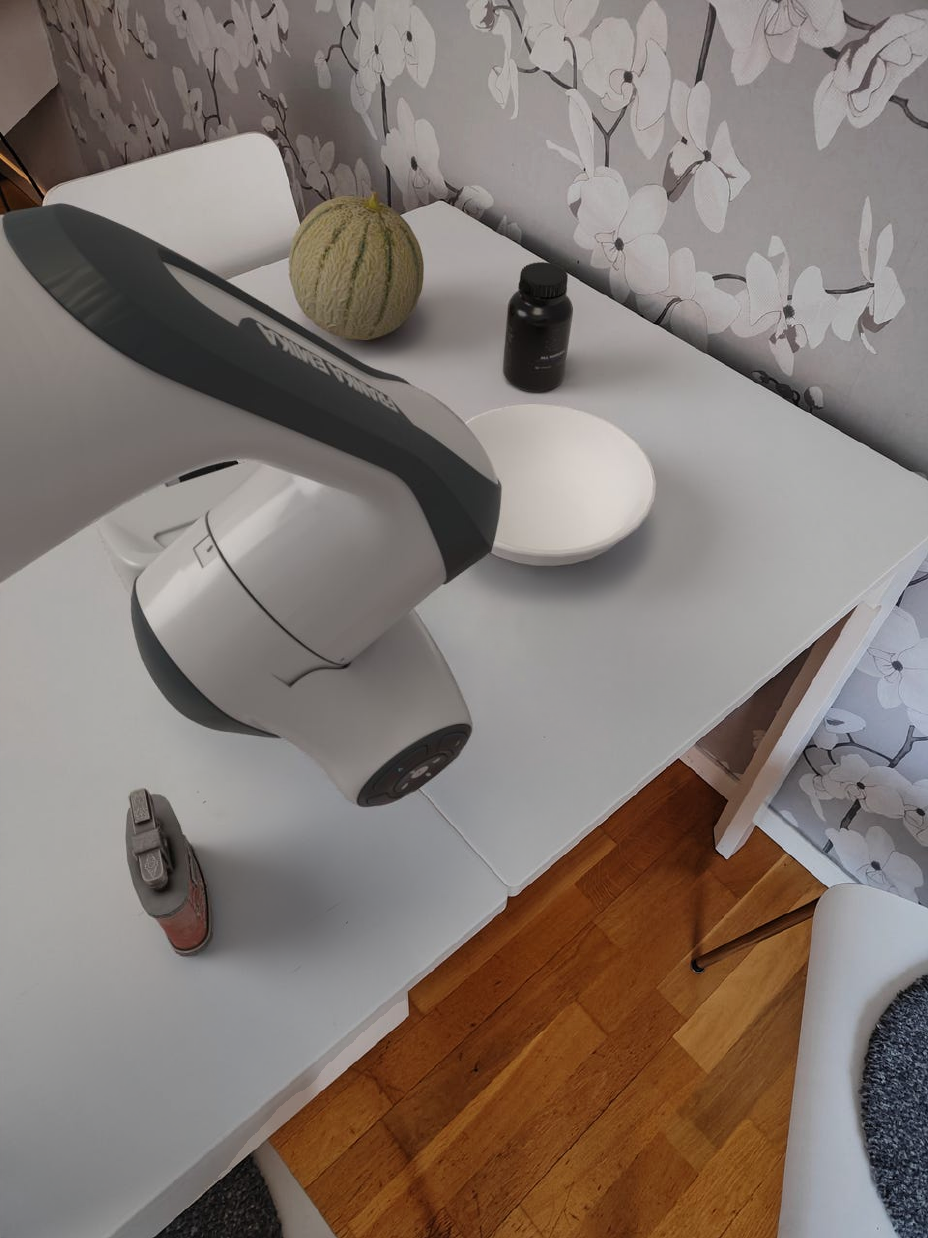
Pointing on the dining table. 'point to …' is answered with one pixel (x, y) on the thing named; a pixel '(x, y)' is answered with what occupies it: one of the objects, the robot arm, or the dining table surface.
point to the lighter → (168, 873)
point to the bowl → (563, 482)
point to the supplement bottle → (538, 328)
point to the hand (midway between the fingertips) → (225, 439)
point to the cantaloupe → (356, 267)
